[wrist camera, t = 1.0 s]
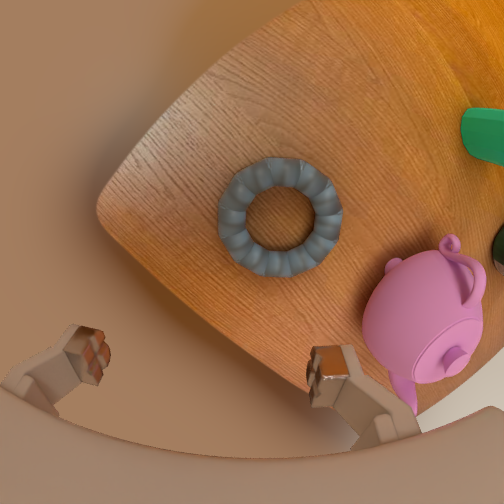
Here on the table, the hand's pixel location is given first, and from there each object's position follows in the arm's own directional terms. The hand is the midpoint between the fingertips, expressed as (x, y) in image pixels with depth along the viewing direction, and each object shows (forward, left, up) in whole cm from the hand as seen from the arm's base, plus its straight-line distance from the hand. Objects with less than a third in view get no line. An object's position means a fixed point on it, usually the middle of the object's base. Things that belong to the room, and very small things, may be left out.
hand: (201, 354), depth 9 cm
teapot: (+9, +20, -17) cm, 28 cm away
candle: (-12, +26, -17) cm, 33 cm away
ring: (0, +4, -15) cm, 16 cm away
